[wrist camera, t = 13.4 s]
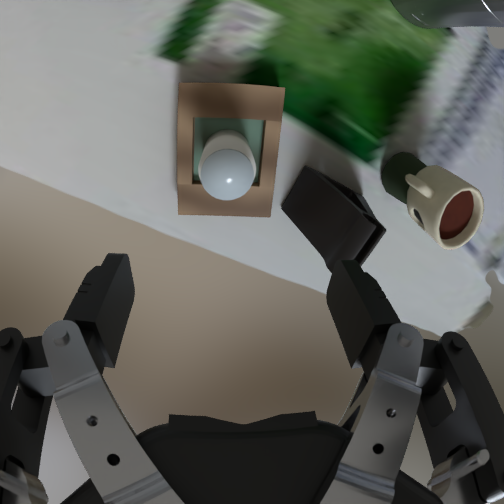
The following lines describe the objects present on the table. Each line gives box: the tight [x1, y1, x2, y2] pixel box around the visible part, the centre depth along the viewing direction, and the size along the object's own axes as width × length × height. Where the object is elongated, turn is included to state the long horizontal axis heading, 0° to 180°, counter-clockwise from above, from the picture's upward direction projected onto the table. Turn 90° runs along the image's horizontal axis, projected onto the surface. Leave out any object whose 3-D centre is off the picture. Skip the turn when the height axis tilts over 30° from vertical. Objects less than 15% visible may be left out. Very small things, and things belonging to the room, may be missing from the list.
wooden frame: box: [177, 83, 285, 217], centre depth 29 cm, size 14×10×3 cm
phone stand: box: [281, 166, 386, 273], centre depth 30 cm, size 9×6×12 cm, turn 64°
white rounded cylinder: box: [198, 129, 256, 200], centre depth 25 cm, size 5×5×8 cm
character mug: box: [382, 152, 484, 250], centre depth 28 cm, size 11×7×13 cm, turn 65°
